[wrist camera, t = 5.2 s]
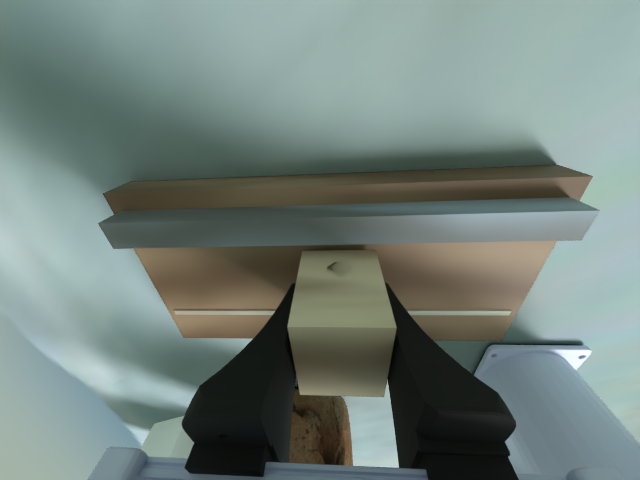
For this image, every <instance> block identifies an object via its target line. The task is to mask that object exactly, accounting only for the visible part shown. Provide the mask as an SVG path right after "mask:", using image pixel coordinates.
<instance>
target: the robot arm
mask: <svg viewBox="0 0 640 480" xmlns="http://www.w3.org/2000/svg"><path fill="white" fill-rule="evenodd" d="M295 285H296V283H292V284H291V286H290V288H289V289H288V291H287V293H286V295H285V296H284V298H283V300H282V301H281V303H280V304H279V306H278V307H277V309H276V311H275V312H274V313H273V315H272V316H271V317H270V319H269V320H268V322H267V323H266V324H265V325H264V327H263V328H262V329H261V330H260V332H259V333H258V334H257V335H256V336H255V337H254V338H253V340H252V341H251V342H250V343H249V344H248V345H247V346H246V347H245V348H244V349H243V350H242V351H241V352H240V353H239V354H238V355H237V356H236V357H234V358H233V359H232V360H231V361H230V362H229V363H228V364H227V365H225V366H224V367H223V368H222V369H221V370H220V371H218V372H217V373H216V374H215V375H213V376H212V377H211V378H209V379H208V380H207V381H206V382H204V383H203V384H202V385H200V386H199V388H198V390H197V392H196V393H195V395H194V397H193V399H192V401H191V403H190V405H189V407H188V409H187V411H186V413H185V416H184V418H183V420H182V428H183V429H184V431H185V432H186V434H187V435H188V436H189V437H190V438H191V440H192V441H193V442H194V444H193V447H192V449H191V452H190V454H189V457H188V458H171V457H149V456H147V454H146V453H145V452H144V451H143V450H141V449H137V448H127V447H109V448H107V450H106V451H105V453H104V455H103V456H102V458H101V459H100V461H99V462H98V464H97V466H96V467H95V469H94V470H93V472H92V473H91V475H90V476H89V478H88V480H640V443H639V442H638V441H637V440H636V439H635V438H634V436H633V435H632V434H631V433H630V432H629V431H628V430H627V428H626V427H625V426H624V425H623V424H622V423H621V422H620V420H619V419H618V418H617V417H616V416H615V415H614V414H613V412H612V411H611V410H610V409H609V408H608V407H607V405H606V404H605V403H604V402H603V401H602V400H601V399H600V397H599V396H598V395H597V394H596V393H595V392H594V391H593V389H592V388H591V387H590V386H589V385H588V384H587V382H586V381H585V380H584V379H583V378H582V377H581V376H580V374H579V373H578V372H577V371H576V369H577V368H578V367H579V366H580V365H581V364H582V363H583V362H584V361H585V360H586V358H587V357H588V356H589V355H590V354H591V353H592V350H591V349H590V348H589V347H587V346H565V345H491V346H489V347H488V348H487V350H486V352H485V354H484V356H483V358H482V360H481V362H480V364H479V366H478V368H477V370H476V372H475V373H474V375H472V374H471V373H470V372H469V371H467V370H466V369H465V368H463V367H462V366H461V365H460V364H459V363H457V362H456V361H455V360H454V359H453V358H452V357H450V356H449V355H448V354H447V353H446V352H445V351H444V350H442V349H441V348H440V347H439V346H438V345H437V344H436V343H435V342H434V341H433V340H432V339H431V338H430V337H429V336H428V335H427V334H426V333H425V332H424V331H423V329H422V328H421V327H420V326H419V325H418V324H417V323H416V321H415V320H414V319H413V318H412V317H411V315H410V314H409V313H408V312H407V310H406V309H405V308H404V306H403V305H402V304H401V302H400V301H399V299H398V298H397V297H396V295H395V294H394V292H393V291H392V289H391V287H390V286H389V284H388V283H385V286H386V290H387V294H388V297H389V301H390V305H391V308H392V312H393V316H394V320H395V323H396V327H397V329H396V334H395V340H394V345H393V351H392V356H391V362H390V367H389V373H388V385H389V391H390V398H391V405H392V412H393V420H394V428H395V436H396V444H397V452H398V461H399V468H386V467H365V466H343V465H321V464H300V463H289V452H290V438H291V425H292V412H293V401H294V390H295V380H296V370H295V365H294V360H293V355H292V349H291V344H290V339H289V333H288V328H287V326H288V321H289V316H290V311H291V306H292V301H293V296H294V290H295Z"/></svg>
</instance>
